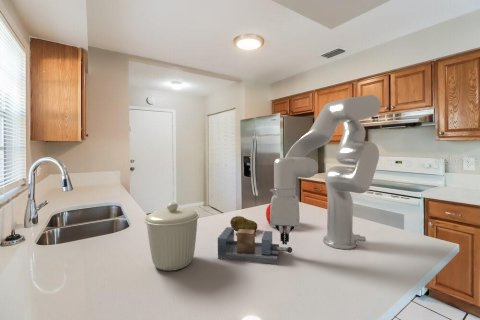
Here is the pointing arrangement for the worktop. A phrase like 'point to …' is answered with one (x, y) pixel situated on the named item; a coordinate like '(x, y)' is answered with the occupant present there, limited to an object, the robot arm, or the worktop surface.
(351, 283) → the worktop surface
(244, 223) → the potato
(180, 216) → the canister
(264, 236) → the sliding jaw
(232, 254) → the vise bed
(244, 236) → the walnut block
